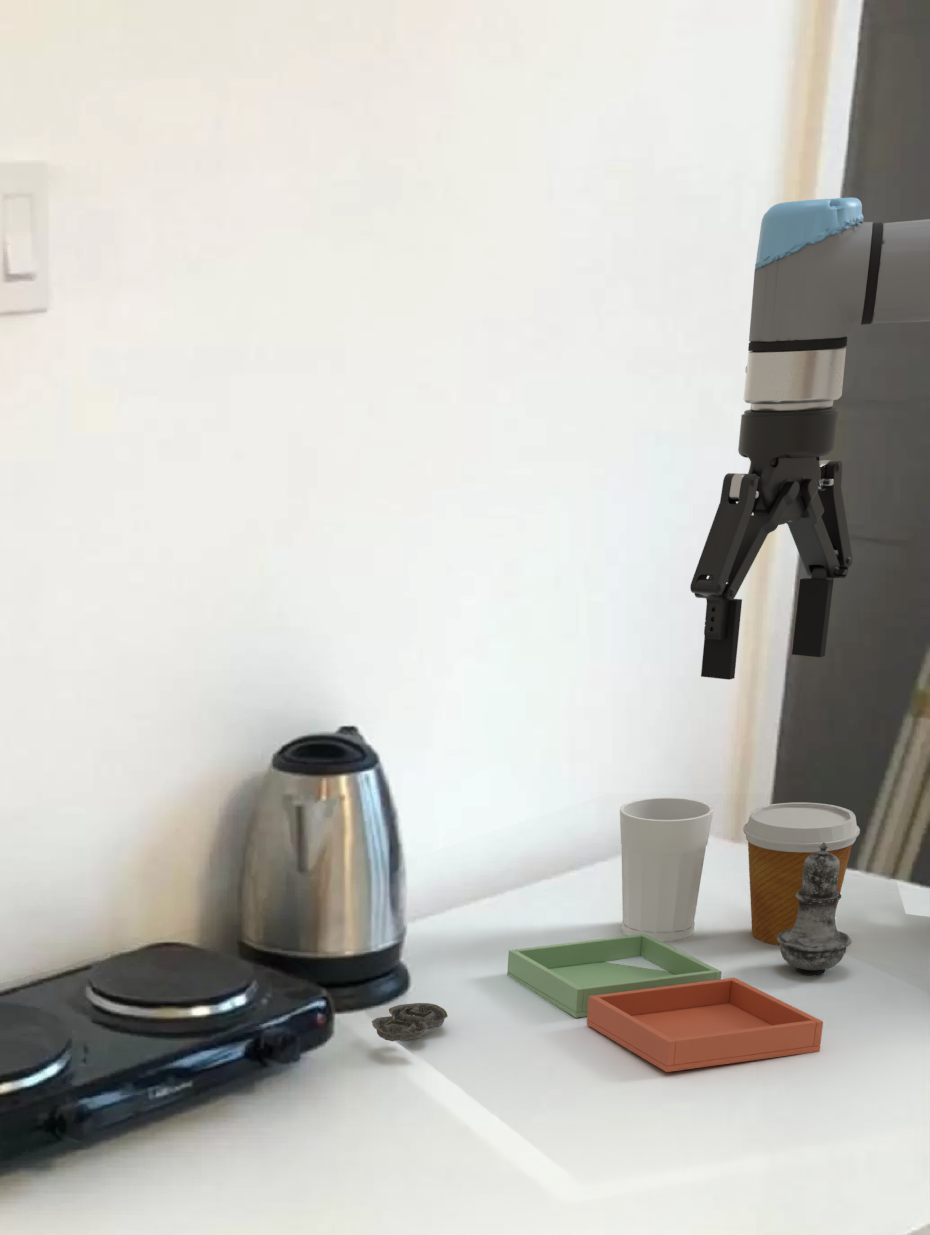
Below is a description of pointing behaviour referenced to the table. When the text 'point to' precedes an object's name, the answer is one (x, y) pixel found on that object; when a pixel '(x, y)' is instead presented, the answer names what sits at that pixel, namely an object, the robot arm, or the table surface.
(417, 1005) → the corroded twin loop
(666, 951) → the green tray
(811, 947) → the salt shaker
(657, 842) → the cup
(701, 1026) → the terracotta tray
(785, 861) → the disposable coffee cup
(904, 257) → the robot arm
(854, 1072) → the table surface
